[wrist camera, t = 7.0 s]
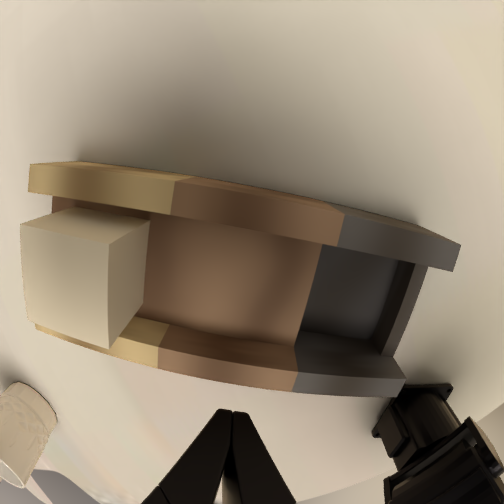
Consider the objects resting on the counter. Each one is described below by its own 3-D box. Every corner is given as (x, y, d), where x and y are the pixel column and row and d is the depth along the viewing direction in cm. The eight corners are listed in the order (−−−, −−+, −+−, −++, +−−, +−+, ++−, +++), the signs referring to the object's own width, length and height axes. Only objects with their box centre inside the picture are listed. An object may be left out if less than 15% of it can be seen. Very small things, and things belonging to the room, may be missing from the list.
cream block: (150, 220, 16) (109, 244, 11) (142, 303, 17) (109, 349, 12) (74, 206, 16) (20, 224, 11) (73, 284, 17) (27, 320, 12)
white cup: (37, 429, 25) (3, 482, 16) (-1, 380, 24) (-46, 429, 14) (74, 428, 25) (37, 493, 15) (29, 372, 23) (-23, 433, 13)
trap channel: (418, 225, 18) (461, 245, 13) (373, 354, 21) (396, 397, 16) (76, 161, 17) (30, 164, 12) (72, 297, 20) (35, 328, 15)
